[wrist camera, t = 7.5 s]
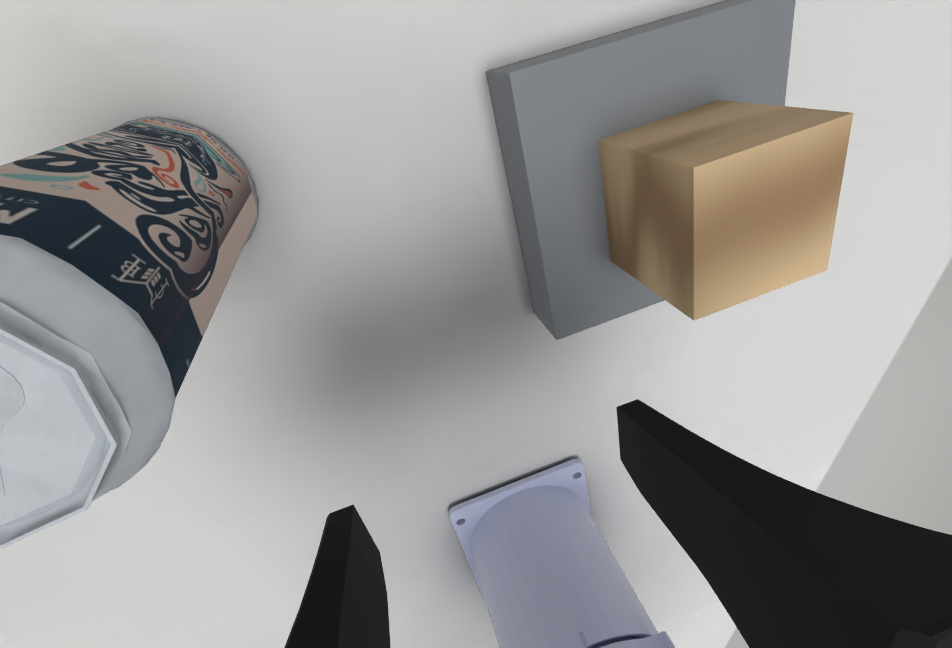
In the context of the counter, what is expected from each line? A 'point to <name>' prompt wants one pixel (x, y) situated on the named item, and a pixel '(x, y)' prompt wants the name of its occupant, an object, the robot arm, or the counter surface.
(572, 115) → the charcoal base
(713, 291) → the oak block
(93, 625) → the counter surface
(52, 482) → the beer can
